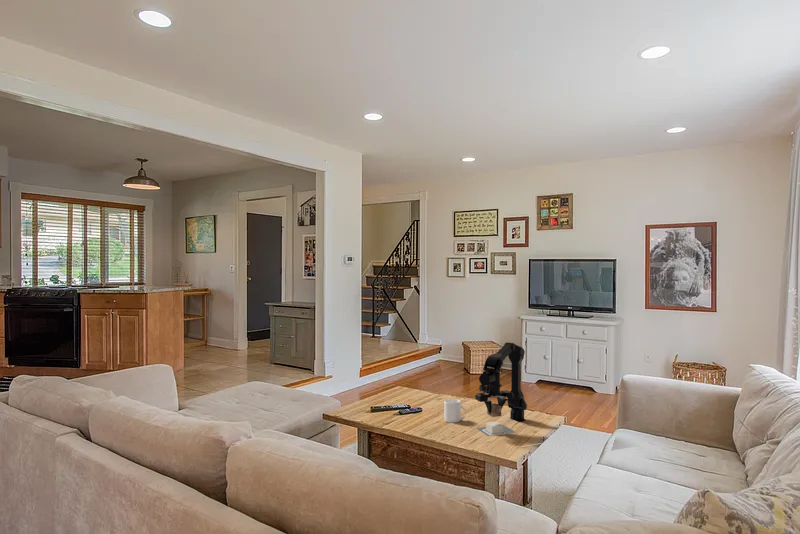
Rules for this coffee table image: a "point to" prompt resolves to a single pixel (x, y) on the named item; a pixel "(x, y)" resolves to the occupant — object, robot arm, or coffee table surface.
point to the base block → (494, 427)
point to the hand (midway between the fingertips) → (494, 413)
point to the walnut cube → (495, 410)
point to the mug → (453, 410)
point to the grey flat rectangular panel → (505, 431)
